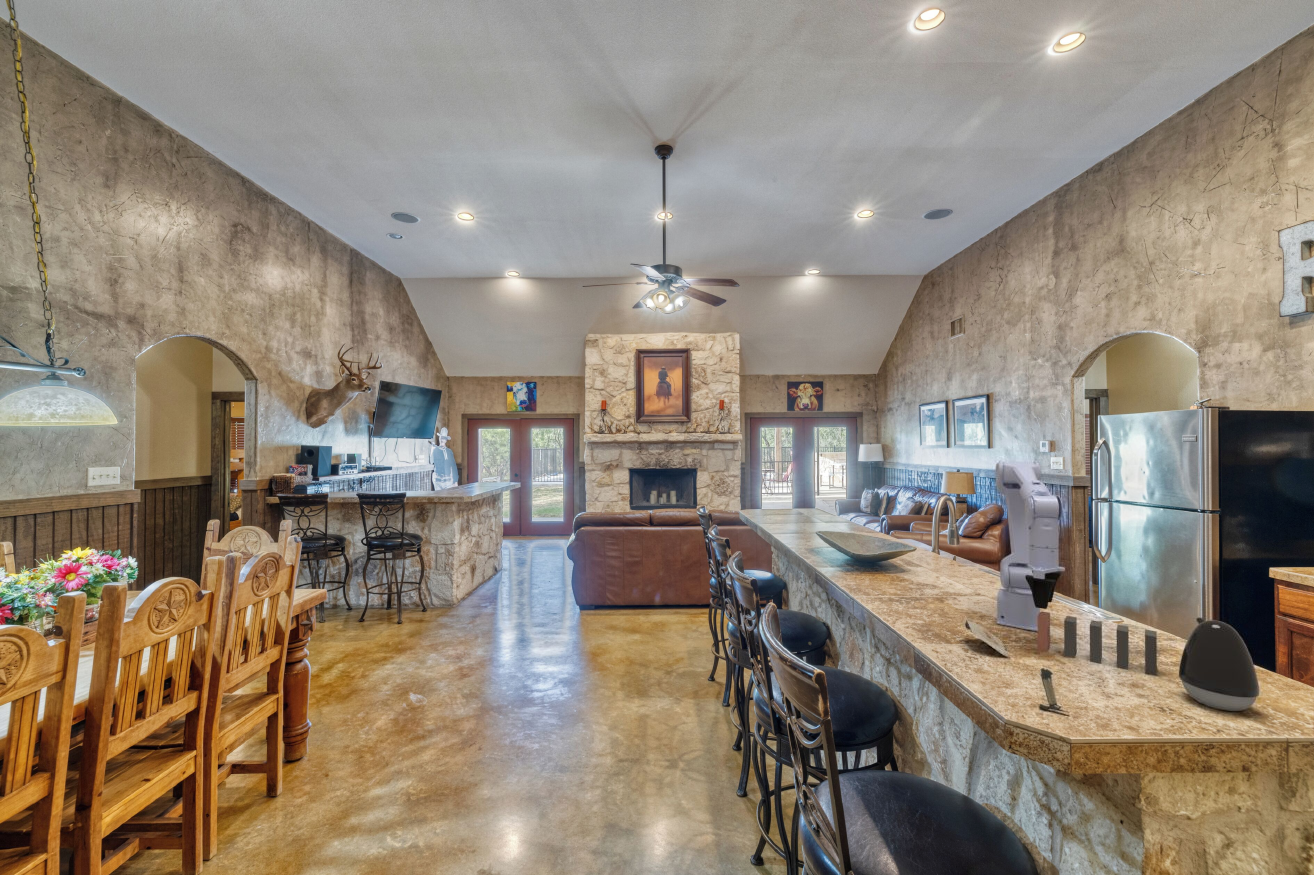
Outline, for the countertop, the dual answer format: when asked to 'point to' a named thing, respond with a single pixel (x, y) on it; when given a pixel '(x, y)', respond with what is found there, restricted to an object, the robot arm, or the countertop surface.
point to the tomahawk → (1050, 694)
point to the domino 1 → (1070, 636)
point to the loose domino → (1043, 631)
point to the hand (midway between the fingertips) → (1043, 604)
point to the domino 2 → (1095, 641)
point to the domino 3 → (1122, 647)
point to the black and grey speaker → (1218, 667)
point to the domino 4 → (1151, 652)
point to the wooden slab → (986, 637)
